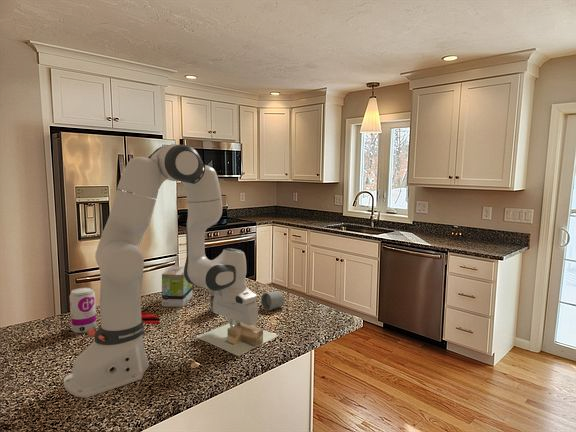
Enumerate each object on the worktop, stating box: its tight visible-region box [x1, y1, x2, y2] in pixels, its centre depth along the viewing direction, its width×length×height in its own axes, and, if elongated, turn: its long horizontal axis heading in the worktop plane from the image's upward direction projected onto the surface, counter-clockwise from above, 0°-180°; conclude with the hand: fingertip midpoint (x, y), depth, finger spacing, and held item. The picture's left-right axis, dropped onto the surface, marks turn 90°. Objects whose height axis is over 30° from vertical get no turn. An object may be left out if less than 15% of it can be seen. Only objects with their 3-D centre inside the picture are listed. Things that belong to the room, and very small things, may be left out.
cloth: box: [141, 310, 161, 325], centre depth 153 cm, size 26×14×2 cm, turn 39°
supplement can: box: [68, 287, 97, 334], centre depth 139 cm, size 8×8×15 cm
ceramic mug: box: [260, 290, 286, 312], centre depth 165 cm, size 11×8×8 cm
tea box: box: [161, 266, 194, 308], centre depth 171 cm, size 15×10×15 cm
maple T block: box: [228, 322, 264, 347], centre depth 131 cm, size 11×10×4 cm
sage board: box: [195, 323, 280, 357], centre depth 134 cm, size 20×22×1 cm
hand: (234, 330), depth 135 cm, fingers closed
